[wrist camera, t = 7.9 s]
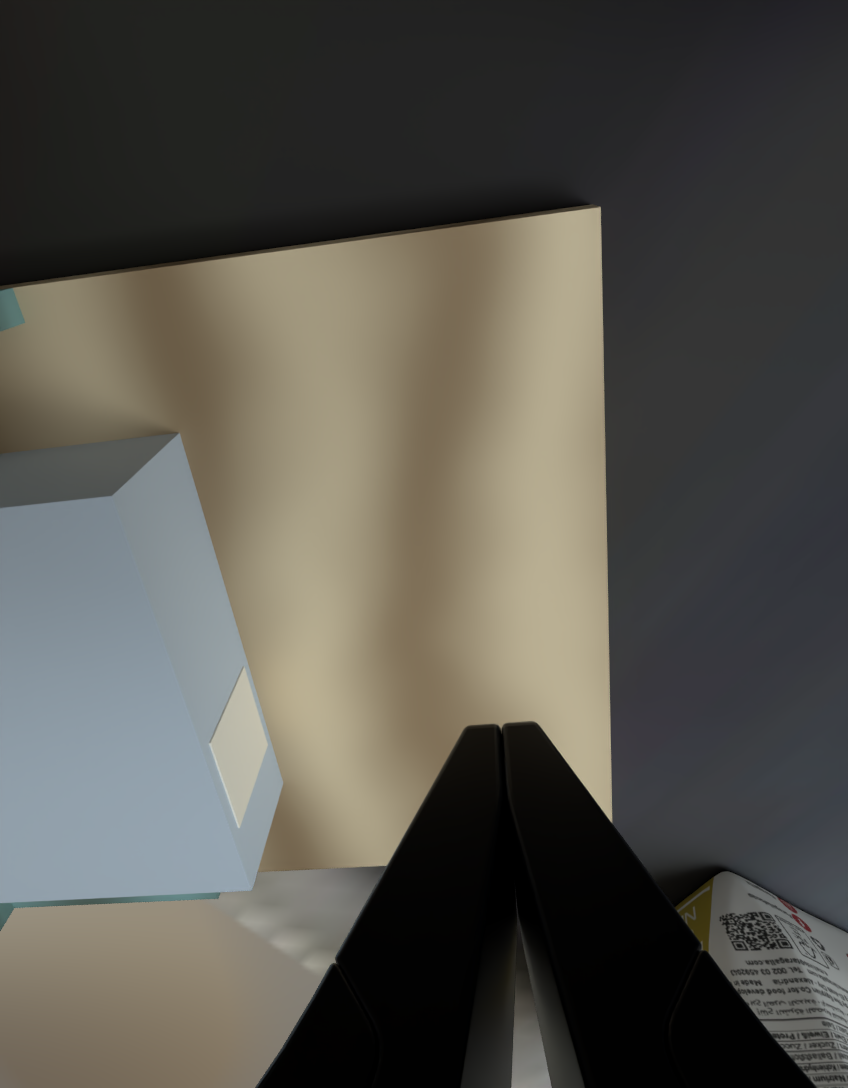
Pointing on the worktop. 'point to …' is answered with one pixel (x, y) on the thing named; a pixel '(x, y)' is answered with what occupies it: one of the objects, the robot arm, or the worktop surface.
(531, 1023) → the worktop surface
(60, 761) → the carton
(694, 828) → the worktop surface
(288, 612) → the display board
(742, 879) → the juice carton
